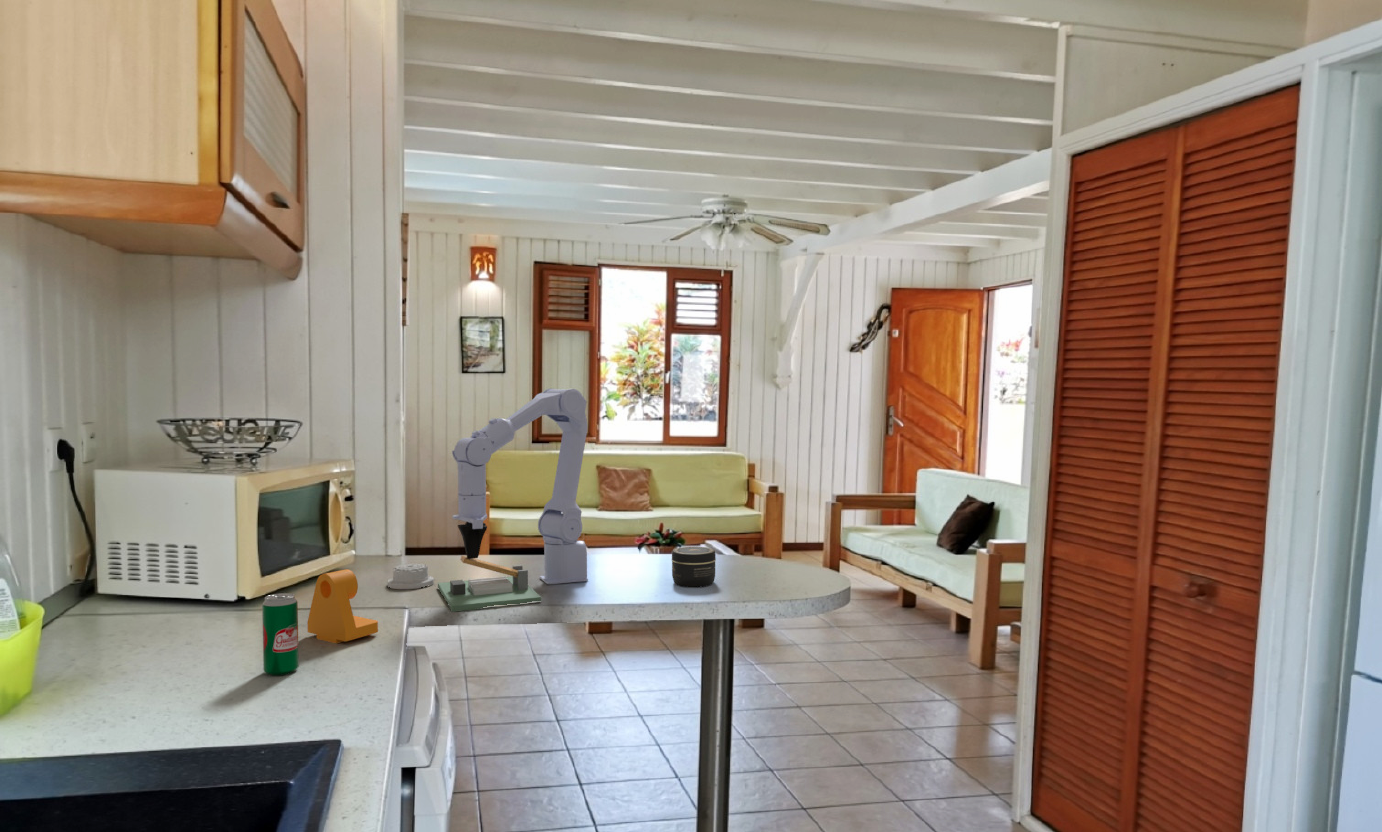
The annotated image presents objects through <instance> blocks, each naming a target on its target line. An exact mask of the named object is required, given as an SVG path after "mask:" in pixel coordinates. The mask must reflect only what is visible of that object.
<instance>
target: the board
mask: <svg viewBox="0 0 1382 832" xmlns="http://www.w3.org/2000/svg"><path fill="white" fill-rule="evenodd" d="M512 569H515V570H518V577H514V576H504V575H503V576H493V577H481V578H470V579H467V580H463V579H457V580H450V581H446V582H437V589H438V588H439V589H438V591H439V590H440V591H439V592H441V593H442V594H441V593H440V594H441V596H442V595H443V596H444V598H445V599H446V601H447V602H448V604H449V606H450V608H449V609H450V611H451V612H452V613H453V612H464V611H472V610H473V611H474V610H481V608H483V607H487V606H494V605H507V604H520V603H527V602H532V601H541V602H542V596H540V594H539V593H537V592H536V591H535V590H534V589H533V588H532V587H531V586H530V585H529V571H528V569H523V565H522V564H517V565H512ZM443 596H442V597H443ZM444 598H443V599H444ZM445 599H444V600H445ZM446 601H445V602H446ZM448 604H447V605H448ZM449 606H448V607H449Z"/></svg>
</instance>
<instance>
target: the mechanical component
mask: <svg viewBox="0 0 1382 832" xmlns="http://www.w3.org/2000/svg"><path fill="white" fill-rule="evenodd" d="M392 573H393V574H392V578H389V579H388V580H387V587H388V588H389V587H390V589H393V590H414V589H415V590H417V589H421V587H423V588H426V587H425V586H427V587H429V586H428V585H430V586H432V585H434V584H435V580H434V579H435V578H434V577H433V576H431V575H429V566H428V565H427V564H422V563H408V564H401V565H396V566H394V567H393V569H392Z"/></svg>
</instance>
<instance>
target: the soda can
mask: <svg viewBox="0 0 1382 832" xmlns="http://www.w3.org/2000/svg"><path fill="white" fill-rule="evenodd" d="M295 596H296V595H295V594H294V593H289V592H283V593H274V594H270V595H267V596H265V597H264V601H263V603H262V604H261V605H262V608H261V610H262V612H261V613H262V615H261V616H262V655H263V656H262V659H263V661H262V662H263V672H264V673H265V674H267V675H268V676H276V677H278V676H286V675H289V674H292V673H294V672H296V671H297V669H298V668H299V666H300V664H299V663H300V660H299V658H300V657H299V653H300V652H299V615H298V613H299V610H298V603H299V602H298V600H297V599H296V597H295Z"/></svg>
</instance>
